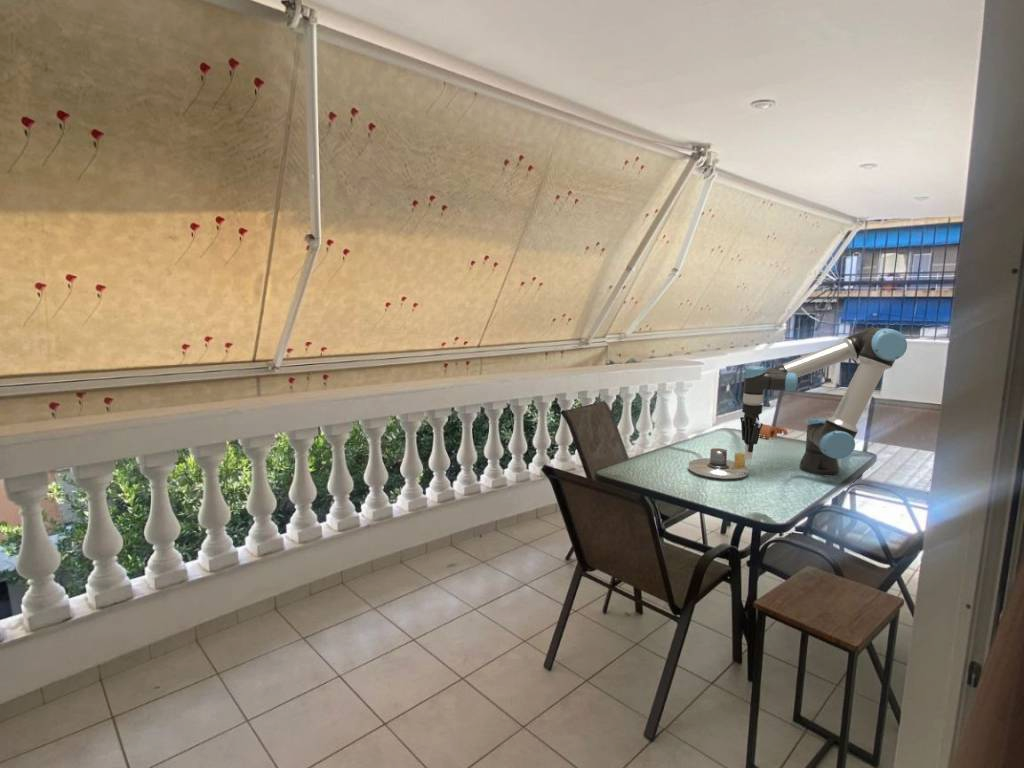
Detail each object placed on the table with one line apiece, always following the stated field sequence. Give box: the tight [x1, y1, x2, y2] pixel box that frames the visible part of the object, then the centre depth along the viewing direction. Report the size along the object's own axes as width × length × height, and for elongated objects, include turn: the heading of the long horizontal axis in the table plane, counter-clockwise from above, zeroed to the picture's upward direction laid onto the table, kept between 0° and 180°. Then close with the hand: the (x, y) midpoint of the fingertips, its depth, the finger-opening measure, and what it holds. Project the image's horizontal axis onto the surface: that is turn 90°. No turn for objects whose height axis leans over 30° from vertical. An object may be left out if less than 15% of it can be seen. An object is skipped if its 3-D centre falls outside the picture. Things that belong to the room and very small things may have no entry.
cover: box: [709, 447, 728, 469], centre depth 235 cm, size 8×8×7 cm
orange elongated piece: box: [759, 423, 788, 440], centre depth 296 cm, size 20×8×8 cm, turn 123°
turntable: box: [688, 452, 749, 480], centre depth 235 cm, size 24×24×6 cm
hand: (748, 458), depth 230 cm, fingers closed
